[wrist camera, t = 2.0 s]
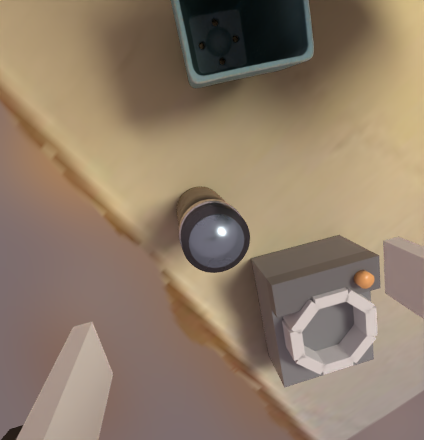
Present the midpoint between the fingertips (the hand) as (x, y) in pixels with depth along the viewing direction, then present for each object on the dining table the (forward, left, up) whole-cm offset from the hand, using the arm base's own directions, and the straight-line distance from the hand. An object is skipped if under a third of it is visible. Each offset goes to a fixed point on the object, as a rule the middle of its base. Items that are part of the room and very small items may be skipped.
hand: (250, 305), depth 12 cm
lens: (0, 0, -18) cm, 18 cm away
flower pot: (-15, +5, -19) cm, 24 cm away
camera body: (+14, +10, -18) cm, 25 cm away
